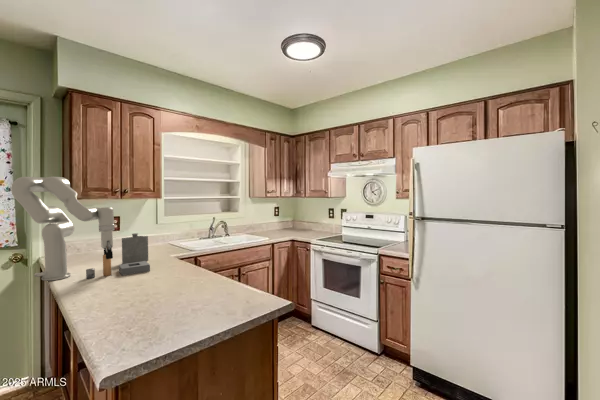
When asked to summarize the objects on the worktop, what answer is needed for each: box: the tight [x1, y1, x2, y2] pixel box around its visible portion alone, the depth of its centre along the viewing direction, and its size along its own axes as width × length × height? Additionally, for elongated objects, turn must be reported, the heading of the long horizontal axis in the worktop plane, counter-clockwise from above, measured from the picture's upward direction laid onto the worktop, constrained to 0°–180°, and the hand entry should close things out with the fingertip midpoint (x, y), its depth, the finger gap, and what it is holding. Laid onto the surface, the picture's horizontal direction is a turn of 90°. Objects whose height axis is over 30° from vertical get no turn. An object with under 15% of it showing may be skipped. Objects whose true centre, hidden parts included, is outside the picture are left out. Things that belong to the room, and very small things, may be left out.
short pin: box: [85, 267, 96, 280], centre depth 165 cm, size 4×4×5 cm
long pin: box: [102, 254, 112, 277], centre depth 170 cm, size 4×4×12 cm
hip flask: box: [121, 232, 149, 264], centre depth 201 cm, size 16×4×20 cm, turn 127°
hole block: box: [118, 261, 151, 276], centre depth 179 cm, size 15×12×4 cm
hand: (108, 257), depth 170 cm, fingers open, 9 cm apart
